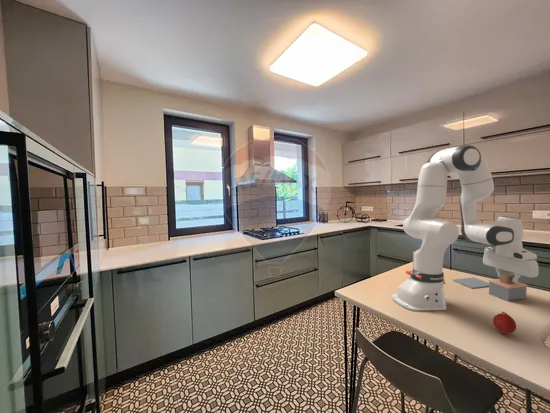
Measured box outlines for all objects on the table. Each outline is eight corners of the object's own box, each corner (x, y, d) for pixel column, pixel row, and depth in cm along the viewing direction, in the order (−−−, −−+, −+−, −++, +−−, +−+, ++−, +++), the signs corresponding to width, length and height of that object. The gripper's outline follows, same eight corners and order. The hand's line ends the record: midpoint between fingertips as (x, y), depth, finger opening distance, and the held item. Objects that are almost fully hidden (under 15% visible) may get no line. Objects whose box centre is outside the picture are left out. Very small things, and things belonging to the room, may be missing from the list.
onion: (503, 328, 85) (504, 307, 84) (520, 338, 79) (521, 315, 79) (488, 329, 85) (489, 308, 84) (504, 339, 79) (505, 316, 78)
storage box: (508, 301, 104) (508, 288, 103) (489, 293, 112) (489, 281, 111) (526, 299, 105) (526, 286, 105) (506, 291, 113) (506, 279, 113)
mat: (472, 288, 118) (472, 287, 118) (452, 280, 129) (452, 279, 129) (494, 285, 120) (494, 285, 120) (473, 278, 131) (473, 277, 131)
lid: (508, 291, 103) (509, 278, 103) (488, 284, 112) (488, 271, 111) (527, 289, 105) (527, 276, 105) (506, 281, 113) (506, 270, 113)
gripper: (479, 246, 117) (479, 272, 118) (530, 257, 97) (528, 289, 98) (490, 245, 118) (489, 271, 119) (542, 256, 98) (540, 288, 99)
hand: (507, 280), depth 108 cm, fingers open, 4 cm apart
